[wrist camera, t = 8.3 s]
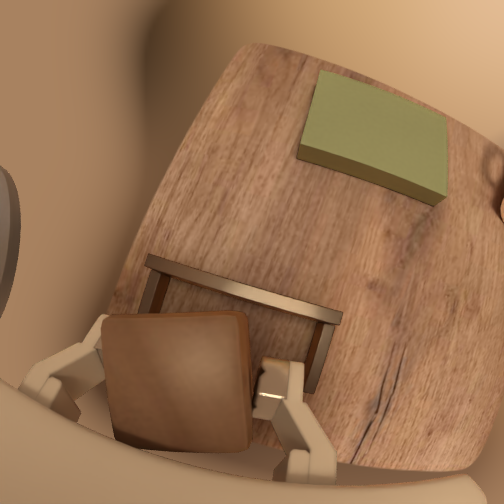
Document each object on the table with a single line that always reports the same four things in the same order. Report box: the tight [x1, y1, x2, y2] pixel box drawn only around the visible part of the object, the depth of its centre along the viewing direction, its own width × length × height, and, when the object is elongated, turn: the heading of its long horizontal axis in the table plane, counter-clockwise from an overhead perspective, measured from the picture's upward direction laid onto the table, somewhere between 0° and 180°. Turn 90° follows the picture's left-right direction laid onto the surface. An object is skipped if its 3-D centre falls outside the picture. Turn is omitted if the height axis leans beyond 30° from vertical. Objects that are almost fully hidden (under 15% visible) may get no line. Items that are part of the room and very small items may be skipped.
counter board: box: [297, 70, 448, 206], centre depth 29 cm, size 16×11×3 cm
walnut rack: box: [138, 254, 343, 394], centre depth 24 cm, size 16×7×6 cm, turn 73°
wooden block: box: [101, 310, 253, 453], centre depth 11 cm, size 4×4×8 cm
